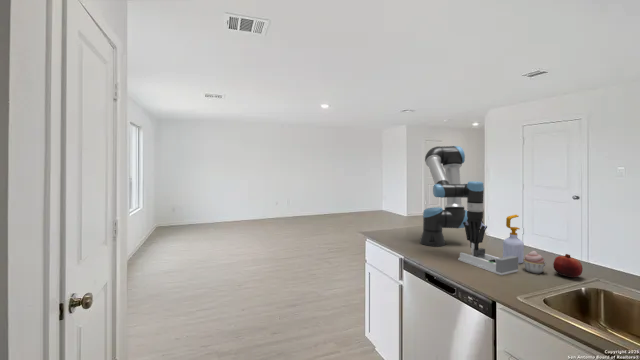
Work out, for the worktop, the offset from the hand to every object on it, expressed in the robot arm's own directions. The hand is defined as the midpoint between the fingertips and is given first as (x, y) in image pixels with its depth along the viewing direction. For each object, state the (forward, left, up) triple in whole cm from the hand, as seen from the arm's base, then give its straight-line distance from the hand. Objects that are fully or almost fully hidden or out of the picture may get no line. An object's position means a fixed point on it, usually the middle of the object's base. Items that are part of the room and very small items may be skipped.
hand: (474, 254), depth 154 cm
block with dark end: (+8, -1, -2) cm, 9 cm away
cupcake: (+22, +13, -4) cm, 26 cm away
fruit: (+32, +20, -4) cm, 38 cm away
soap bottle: (+8, +19, -4) cm, 21 cm away
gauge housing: (+7, 0, -3) cm, 8 cm away
